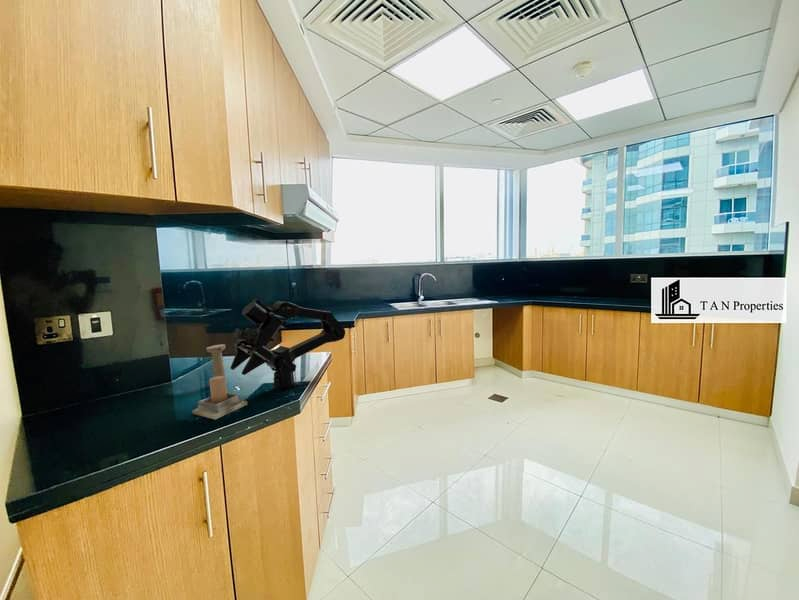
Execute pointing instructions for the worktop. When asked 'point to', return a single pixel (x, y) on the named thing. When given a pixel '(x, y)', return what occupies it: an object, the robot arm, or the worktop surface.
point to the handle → (217, 359)
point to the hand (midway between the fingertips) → (236, 371)
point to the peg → (218, 389)
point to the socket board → (219, 406)
